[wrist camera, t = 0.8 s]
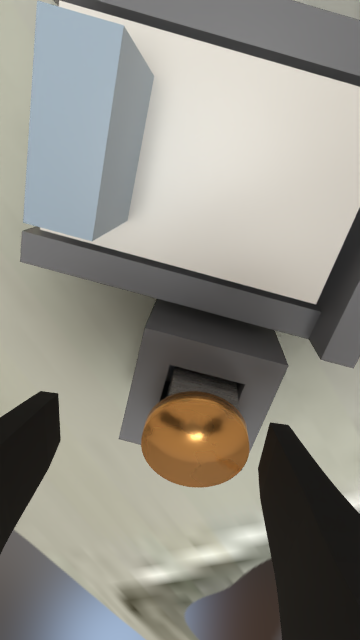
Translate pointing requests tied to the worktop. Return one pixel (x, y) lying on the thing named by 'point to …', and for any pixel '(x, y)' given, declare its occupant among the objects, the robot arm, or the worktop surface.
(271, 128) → the white blue stepped block
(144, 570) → the worktop surface
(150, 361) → the housing
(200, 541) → the worktop surface
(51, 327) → the worktop surface
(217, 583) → the worktop surface
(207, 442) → the orange round piece
